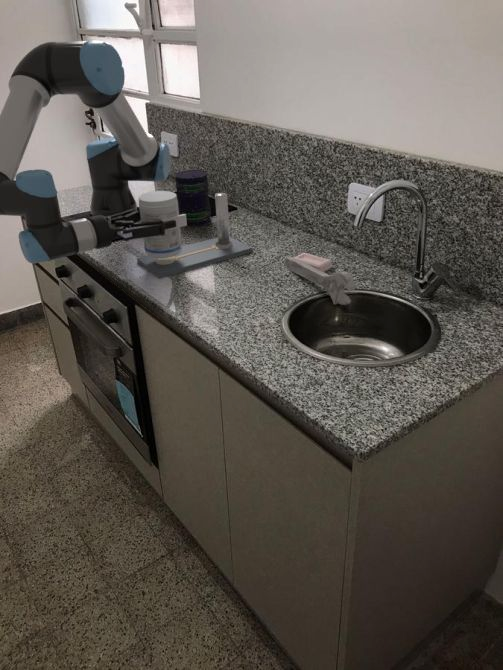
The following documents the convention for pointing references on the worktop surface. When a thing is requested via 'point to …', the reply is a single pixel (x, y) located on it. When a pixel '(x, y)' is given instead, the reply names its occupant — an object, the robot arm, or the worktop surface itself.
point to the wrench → (324, 279)
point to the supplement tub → (156, 209)
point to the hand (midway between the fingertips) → (175, 214)
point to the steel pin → (222, 220)
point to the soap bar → (315, 261)
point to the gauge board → (193, 257)
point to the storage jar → (193, 197)
